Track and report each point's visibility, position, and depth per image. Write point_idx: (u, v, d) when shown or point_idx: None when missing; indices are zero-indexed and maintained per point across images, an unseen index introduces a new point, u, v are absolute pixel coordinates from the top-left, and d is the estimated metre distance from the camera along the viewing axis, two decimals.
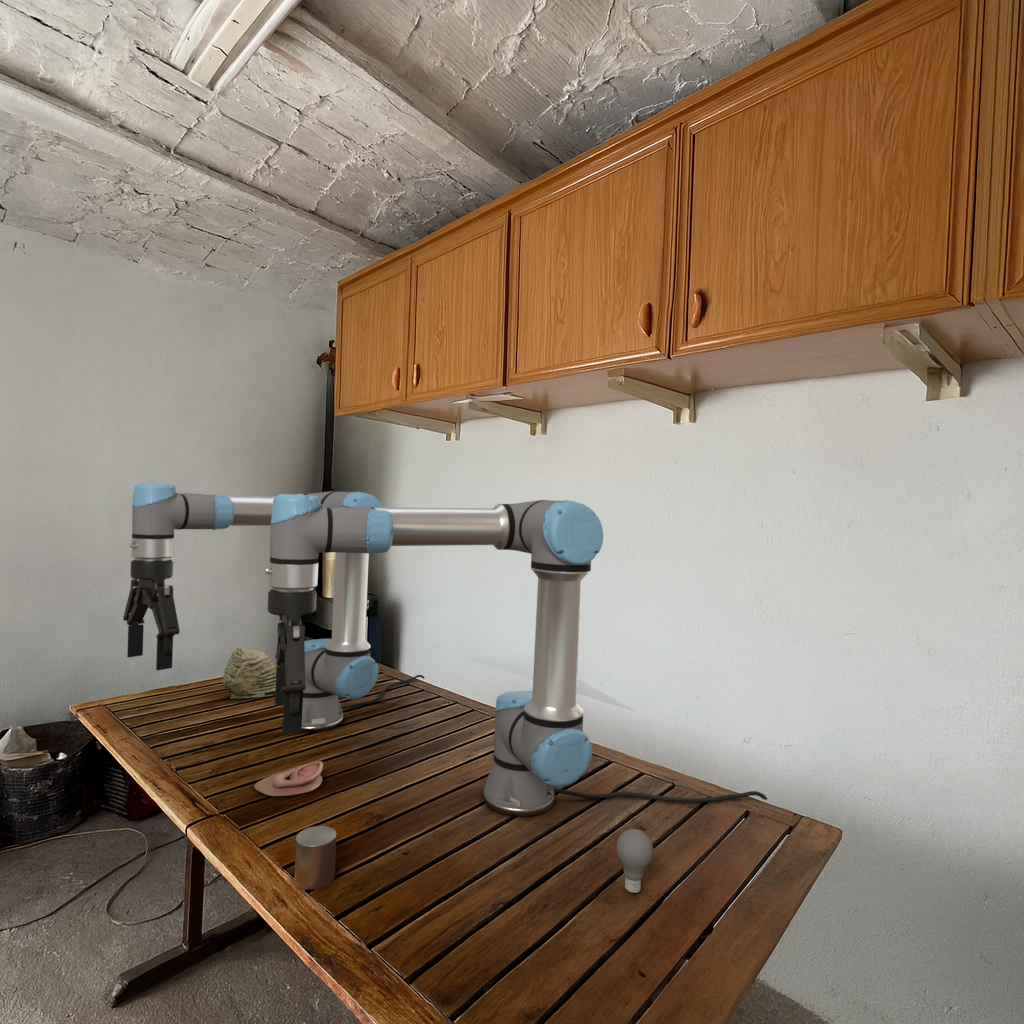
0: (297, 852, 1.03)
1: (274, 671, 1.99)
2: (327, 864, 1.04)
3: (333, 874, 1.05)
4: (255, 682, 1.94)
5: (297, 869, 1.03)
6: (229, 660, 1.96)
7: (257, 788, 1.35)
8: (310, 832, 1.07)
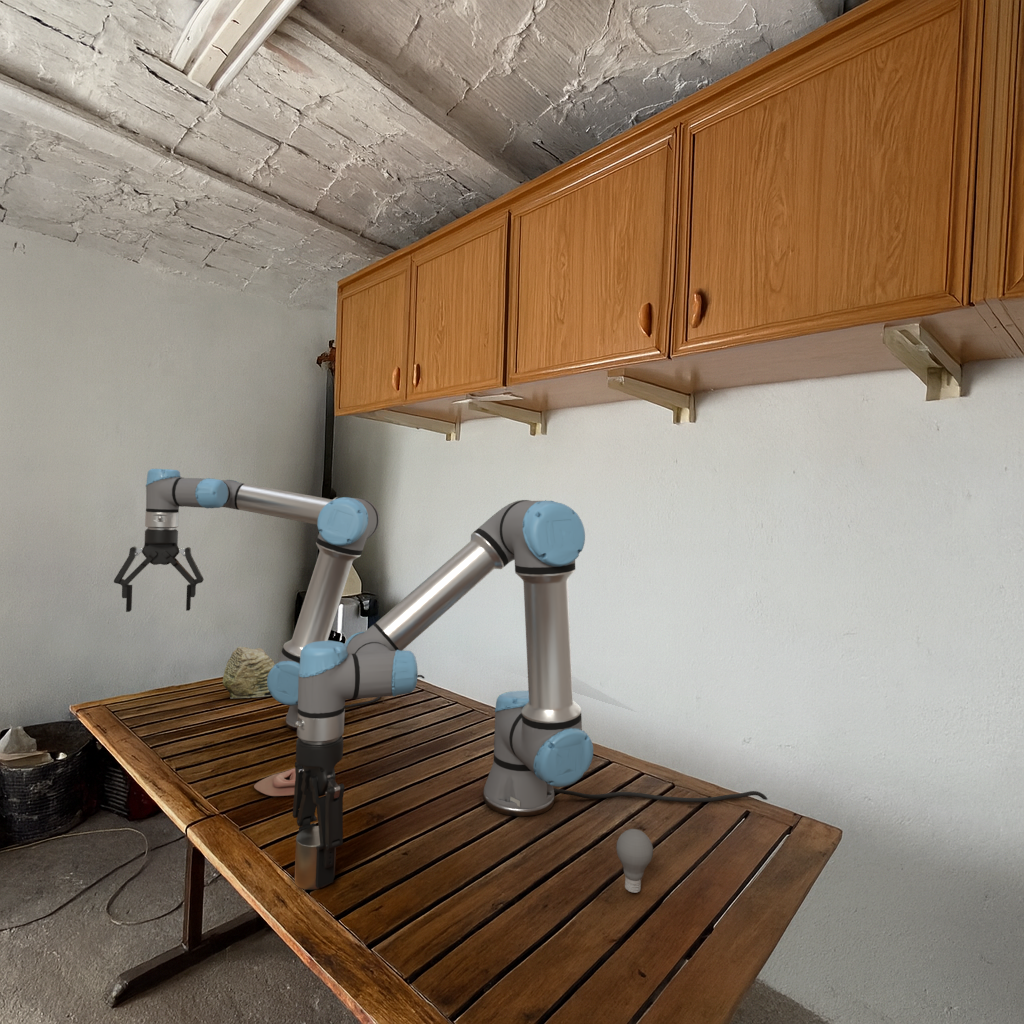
0: (297, 852, 1.03)
1: None
2: None
3: None
4: (255, 682, 1.94)
5: (297, 869, 1.03)
6: (229, 660, 1.96)
7: (257, 788, 1.35)
8: (310, 831, 1.07)
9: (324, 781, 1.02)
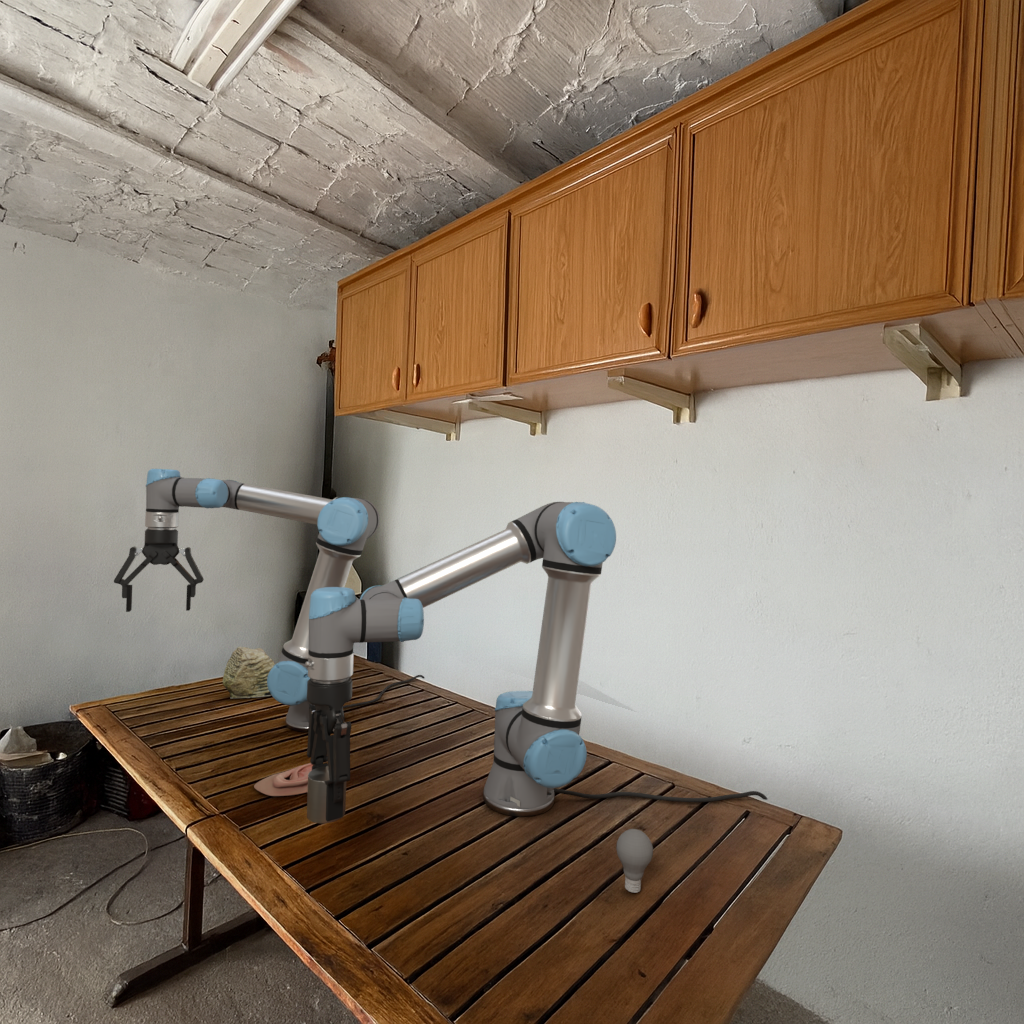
0: (308, 787, 1.08)
1: None
2: None
3: (343, 811, 1.09)
4: (255, 682, 1.94)
5: (308, 804, 1.08)
6: (229, 660, 1.96)
7: (257, 788, 1.35)
8: (322, 770, 1.11)
9: (332, 719, 1.06)
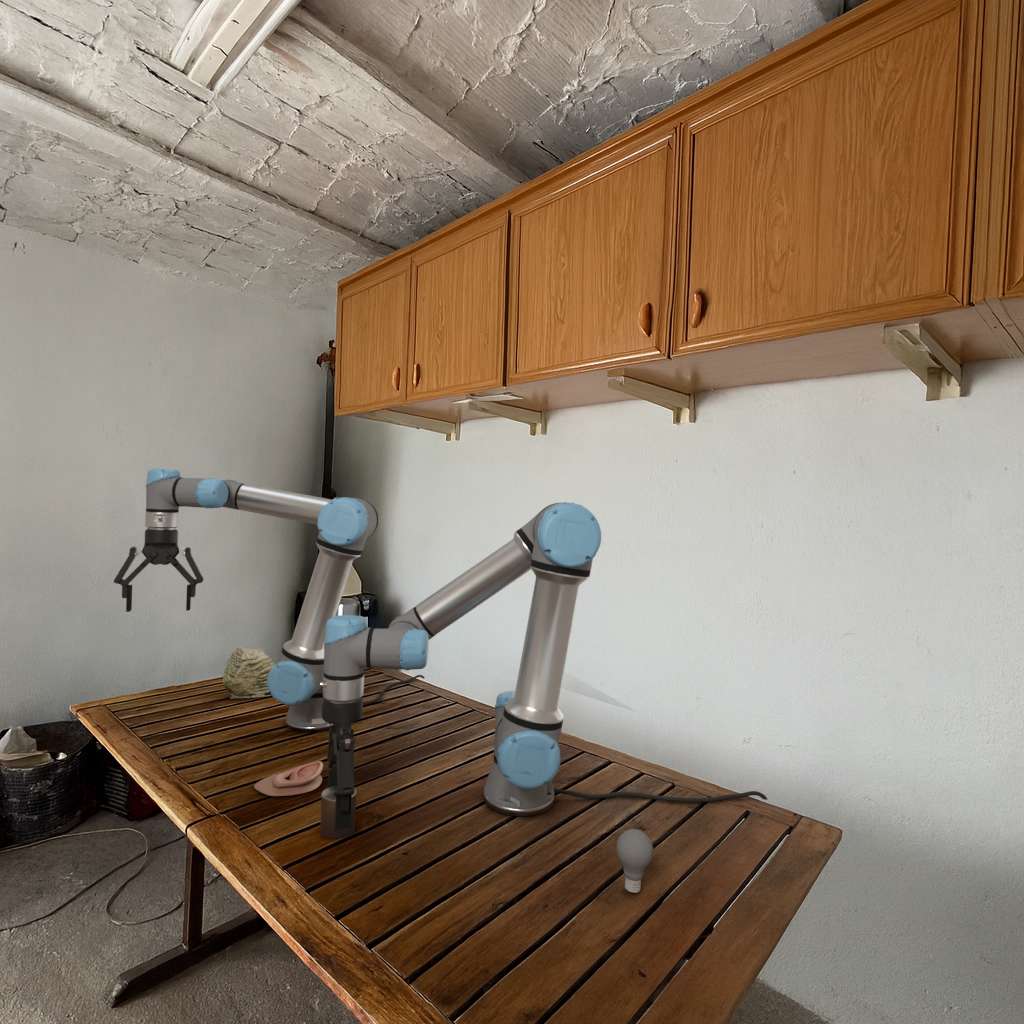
0: (321, 804, 1.20)
1: None
2: None
3: (351, 829, 1.20)
4: (255, 682, 1.94)
5: None
6: (229, 660, 1.96)
7: (257, 788, 1.35)
8: (336, 789, 1.22)
9: (340, 735, 1.17)
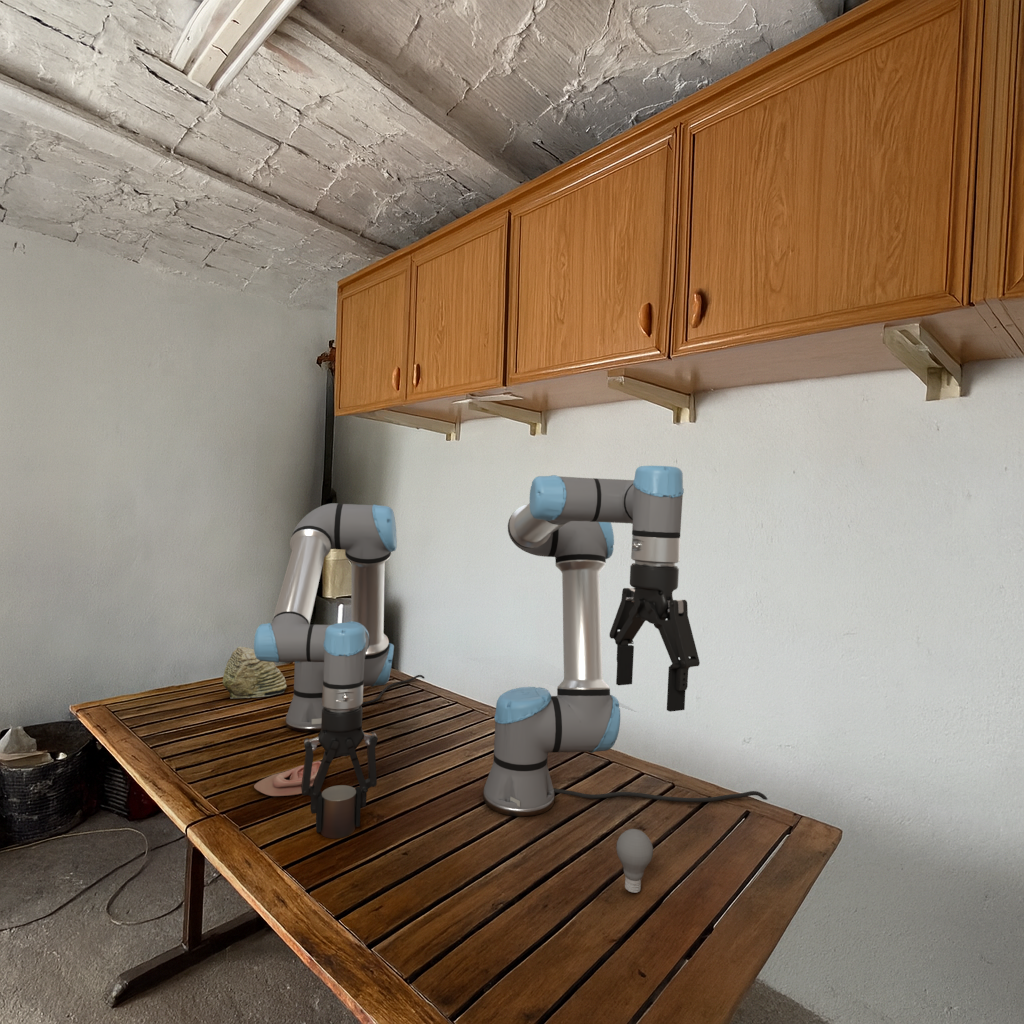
0: None
1: (274, 671, 1.99)
2: (344, 818, 1.18)
3: (351, 829, 1.20)
4: (255, 682, 1.94)
5: None
6: (229, 660, 1.96)
7: (257, 788, 1.35)
8: (336, 789, 1.22)
9: (663, 602, 0.97)
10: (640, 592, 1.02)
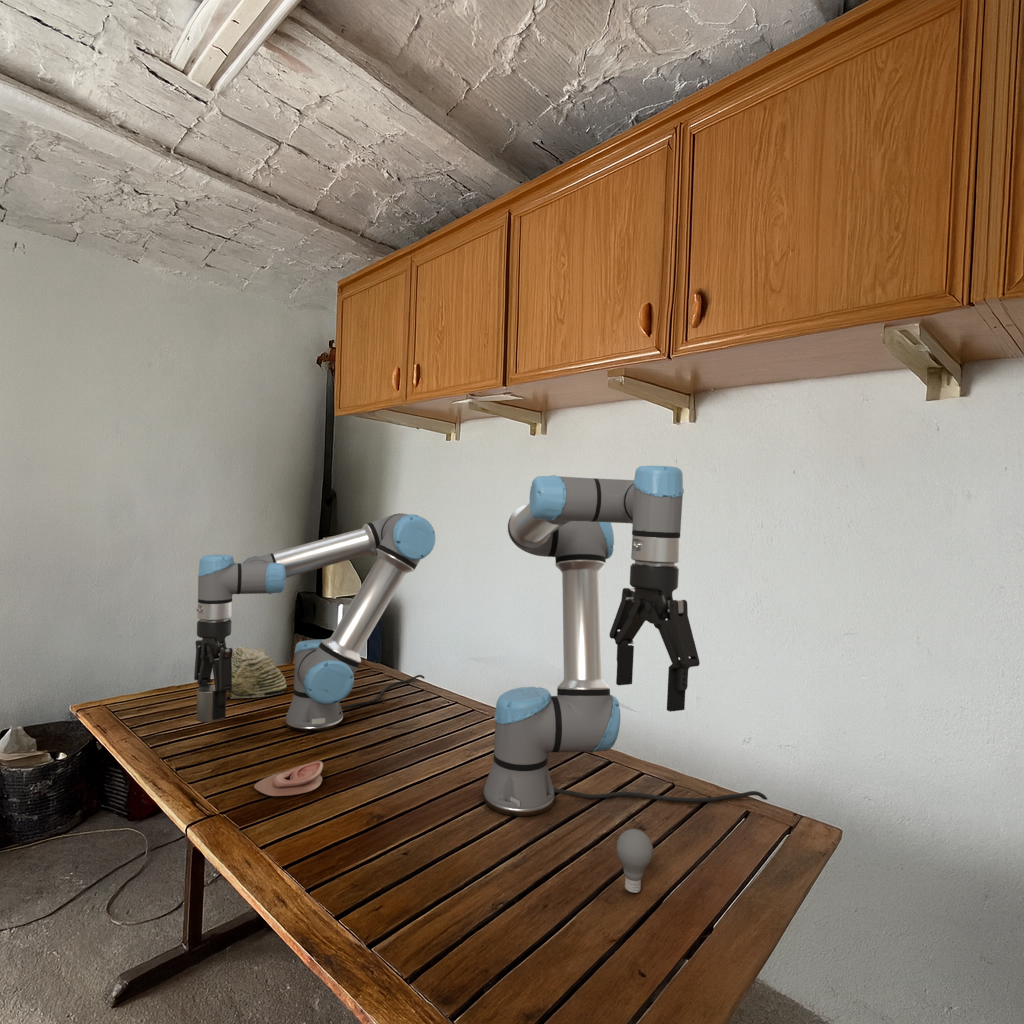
0: None
1: (274, 671, 1.99)
2: (199, 706, 1.49)
3: (206, 718, 1.49)
4: (255, 682, 1.94)
5: None
6: None
7: (257, 788, 1.35)
8: None
9: (663, 602, 0.97)
10: (640, 592, 1.02)
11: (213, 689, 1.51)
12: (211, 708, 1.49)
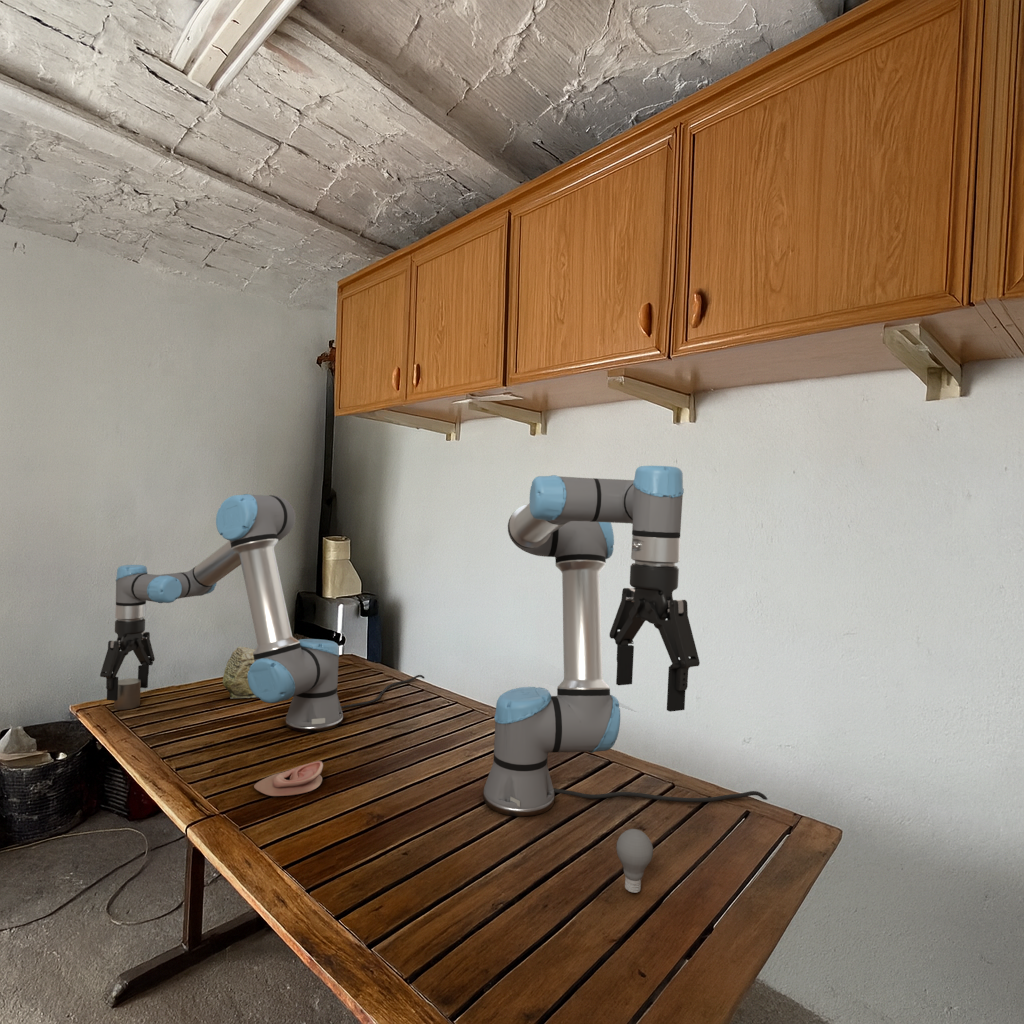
0: None
1: None
2: None
3: (114, 704, 1.81)
4: None
5: None
6: (229, 660, 1.96)
7: (257, 788, 1.35)
8: (133, 681, 1.83)
9: (663, 602, 0.97)
10: (640, 592, 1.02)
11: (124, 682, 1.82)
12: None
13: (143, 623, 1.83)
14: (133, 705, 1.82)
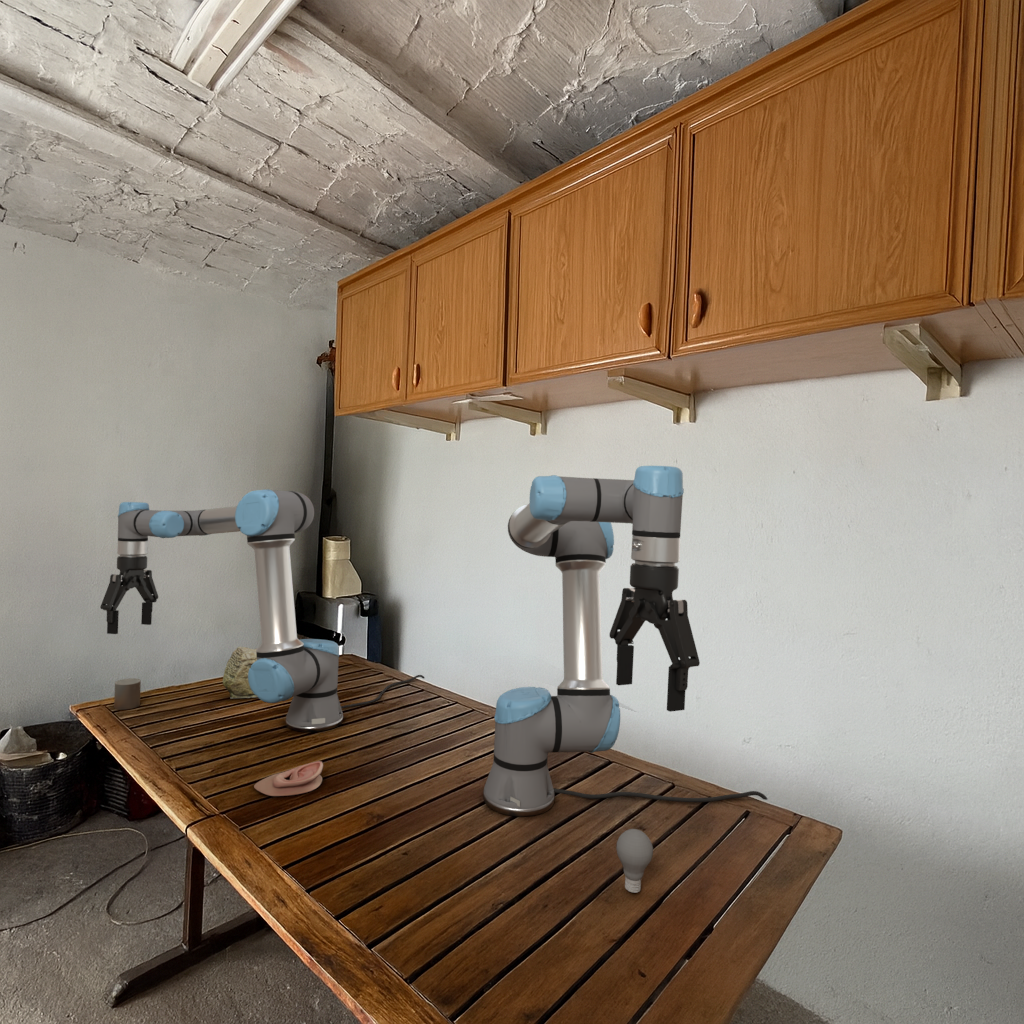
0: None
1: None
2: None
3: (114, 704, 1.81)
4: None
5: None
6: (229, 660, 1.96)
7: (257, 788, 1.35)
8: (133, 681, 1.83)
9: (663, 602, 0.97)
10: (640, 592, 1.02)
11: (124, 682, 1.82)
12: (115, 697, 1.80)
13: (145, 560, 1.83)
14: (133, 705, 1.82)
